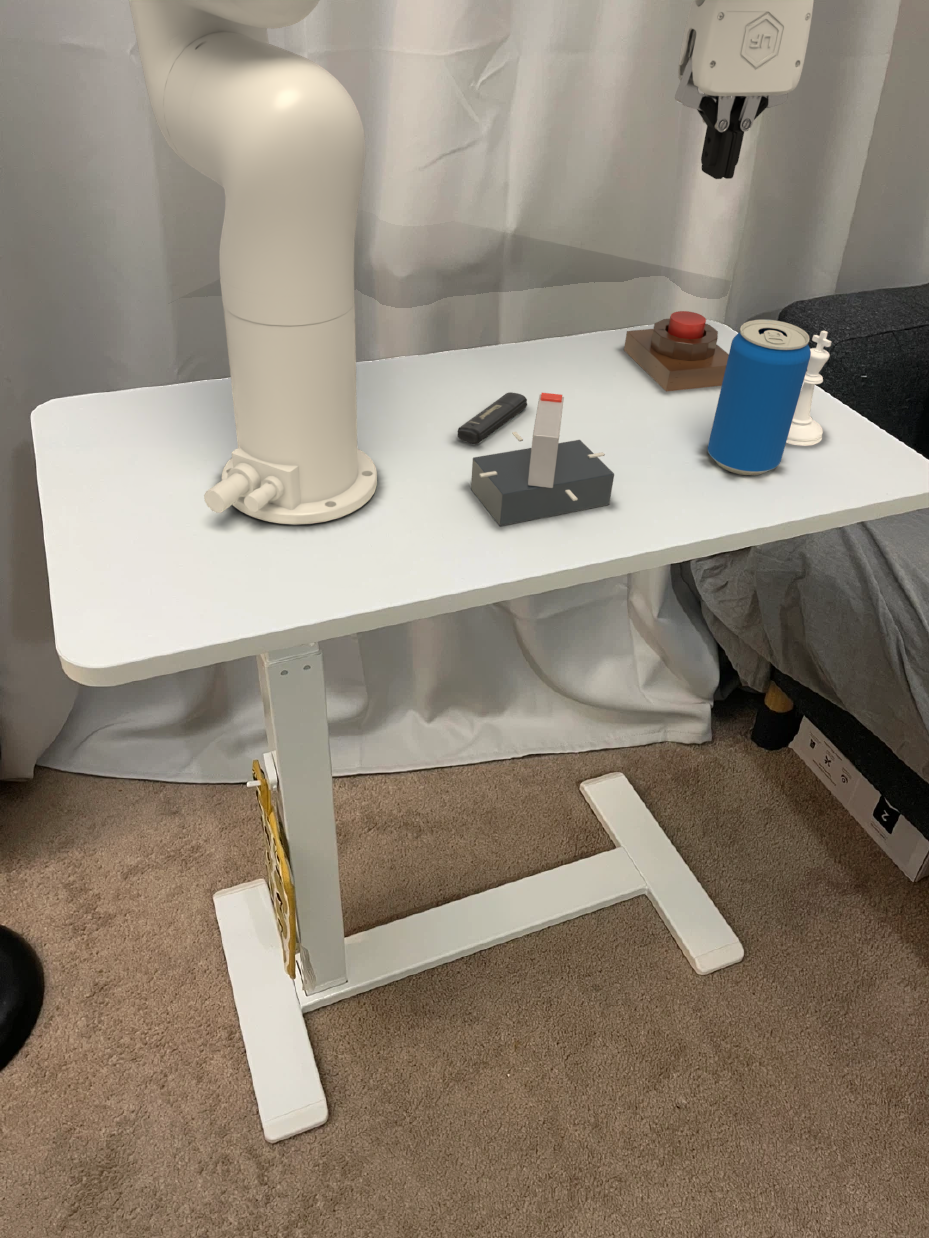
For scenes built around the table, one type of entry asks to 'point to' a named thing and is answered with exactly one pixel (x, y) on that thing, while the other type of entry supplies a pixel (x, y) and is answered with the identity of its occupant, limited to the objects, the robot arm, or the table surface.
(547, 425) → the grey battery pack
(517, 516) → the dark grey marked platform
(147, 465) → the table surface
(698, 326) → the button
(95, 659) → the table surface
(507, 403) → the usb stick
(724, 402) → the beverage can
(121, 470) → the table surface
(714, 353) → the button block
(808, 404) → the chess piece
